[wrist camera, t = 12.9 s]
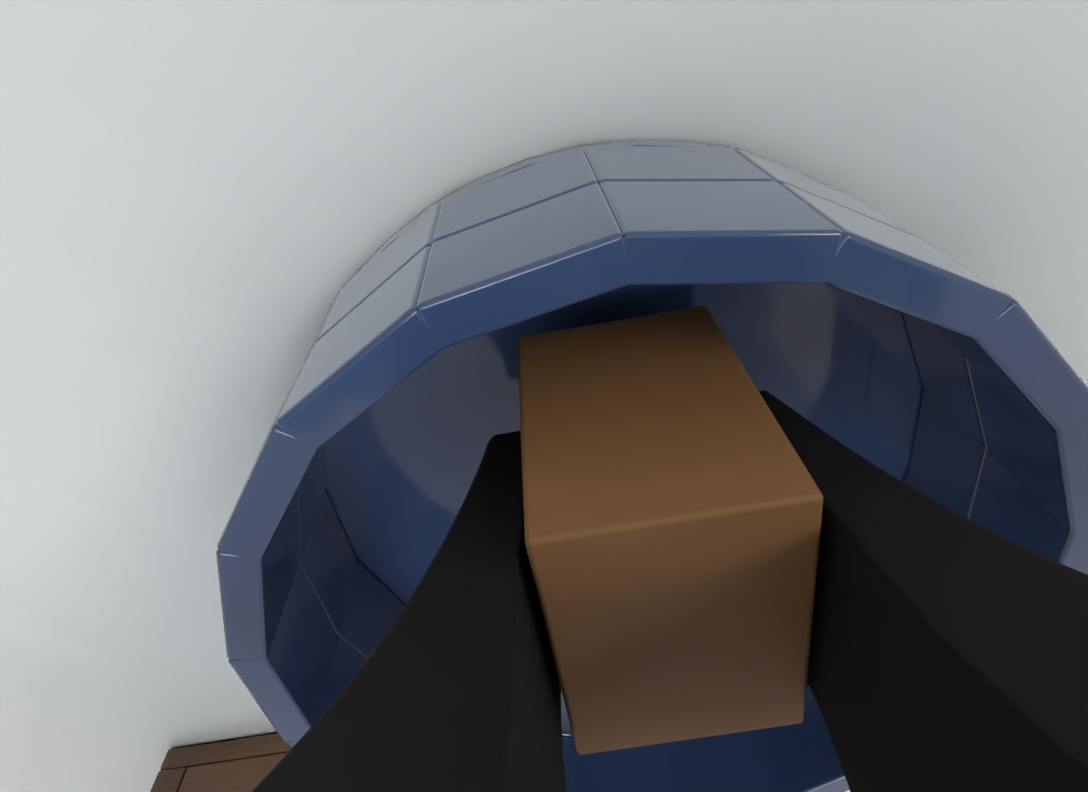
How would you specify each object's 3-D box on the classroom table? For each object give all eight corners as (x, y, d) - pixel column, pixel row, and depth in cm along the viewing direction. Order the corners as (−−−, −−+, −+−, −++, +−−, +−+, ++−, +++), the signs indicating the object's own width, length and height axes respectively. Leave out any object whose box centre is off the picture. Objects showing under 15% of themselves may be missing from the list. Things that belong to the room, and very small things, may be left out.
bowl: (998, 62, 10) (1292, 114, 6) (890, 616, 17) (998, 794, 14) (178, 212, 11) (4, 343, 7) (404, 690, 18) (379, 881, 14)
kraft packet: (705, 303, 10) (825, 495, 6) (712, 495, 12) (805, 724, 9) (515, 335, 10) (523, 542, 7) (554, 520, 12) (577, 758, 9)
